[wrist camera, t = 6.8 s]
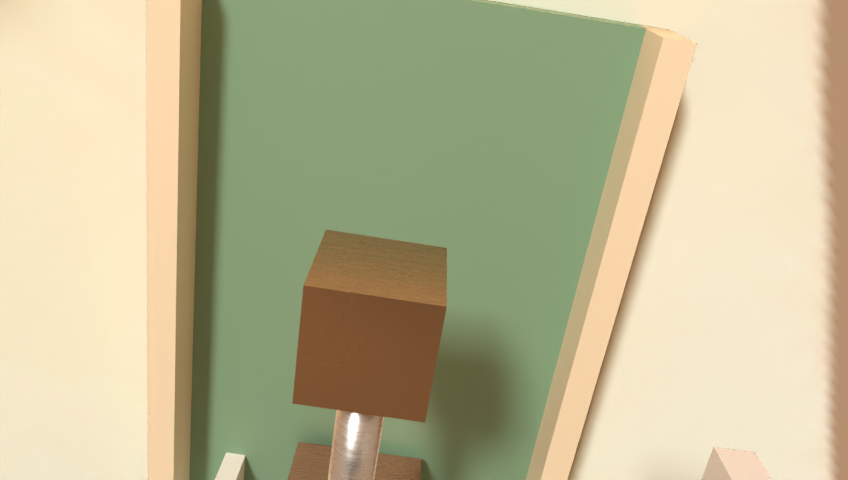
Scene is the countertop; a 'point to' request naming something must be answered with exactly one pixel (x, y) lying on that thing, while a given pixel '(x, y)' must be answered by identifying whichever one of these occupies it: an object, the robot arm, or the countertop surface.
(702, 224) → the countertop surface
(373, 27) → the pitch
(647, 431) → the countertop surface
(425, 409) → the rod
